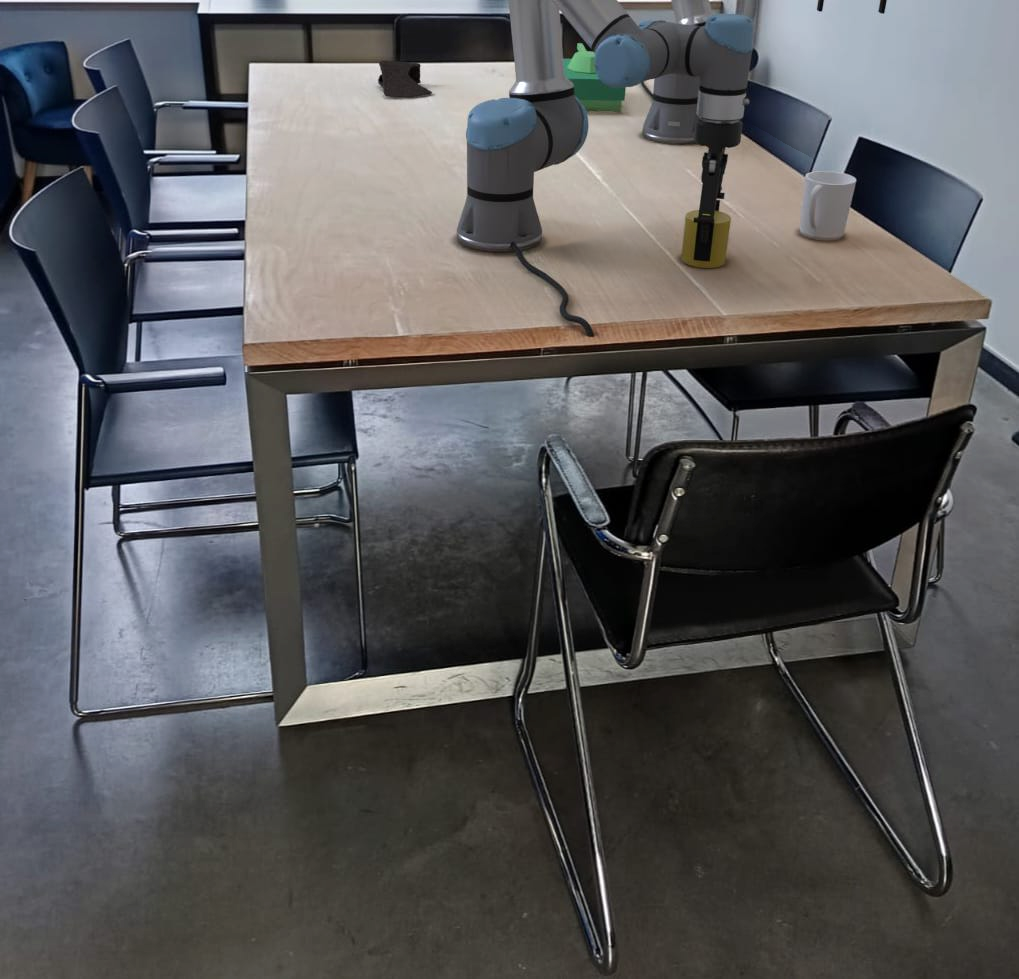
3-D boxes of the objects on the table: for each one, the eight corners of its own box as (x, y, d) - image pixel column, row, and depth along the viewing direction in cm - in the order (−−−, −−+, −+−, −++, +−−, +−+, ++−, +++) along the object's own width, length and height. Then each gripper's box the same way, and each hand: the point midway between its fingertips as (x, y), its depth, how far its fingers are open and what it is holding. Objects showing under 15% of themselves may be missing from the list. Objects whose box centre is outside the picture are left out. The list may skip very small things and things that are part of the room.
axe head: (443, 87, 294) (392, 77, 287) (436, 115, 299) (385, 106, 292) (421, 62, 307) (371, 52, 300) (414, 89, 311) (365, 80, 304)
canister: (702, 250, 194) (707, 206, 190) (734, 262, 189) (740, 218, 185) (672, 258, 190) (676, 214, 186) (703, 271, 185) (709, 226, 181)
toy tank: (610, 40, 305) (627, 64, 275) (607, 86, 311) (623, 114, 282) (547, 38, 304) (557, 62, 274) (545, 84, 310) (555, 113, 281)
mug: (809, 222, 208) (818, 168, 202) (854, 233, 203) (864, 177, 197) (782, 236, 200) (791, 180, 195) (827, 247, 195) (838, 190, 190)
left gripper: (738, 138, 166) (721, 274, 177) (747, 104, 186) (731, 228, 197) (689, 134, 167) (675, 269, 179) (702, 101, 187) (689, 224, 199)
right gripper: (812, -97, 230) (796, 12, 241) (932, -94, 228) (911, 16, 240) (806, -99, 236) (791, 7, 247) (923, -96, 235) (903, 10, 246)
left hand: (704, 248), depth 188 cm, fingers open, 12 cm apart
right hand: (850, 11), depth 243 cm, fingers open, 13 cm apart
